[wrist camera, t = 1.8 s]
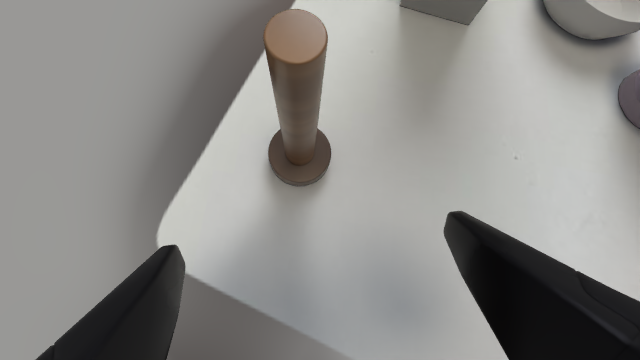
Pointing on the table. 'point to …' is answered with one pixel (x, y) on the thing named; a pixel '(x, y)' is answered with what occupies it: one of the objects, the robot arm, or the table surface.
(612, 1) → the small pan
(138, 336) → the robot arm
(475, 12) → the perfume bottle
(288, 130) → the wooden peg on base
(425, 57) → the table surface
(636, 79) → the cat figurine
